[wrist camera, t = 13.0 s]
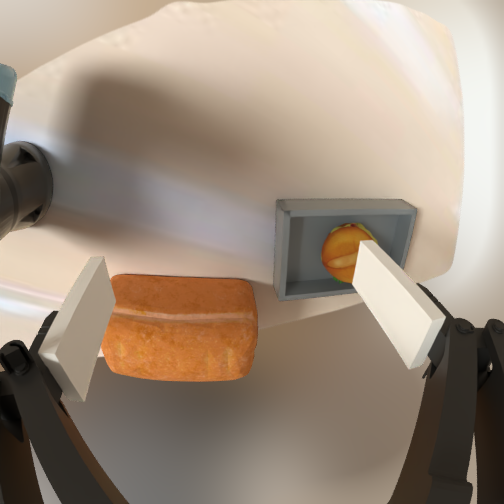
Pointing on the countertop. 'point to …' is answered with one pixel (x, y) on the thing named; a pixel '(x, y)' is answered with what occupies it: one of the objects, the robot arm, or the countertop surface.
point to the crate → (316, 231)
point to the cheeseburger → (344, 250)
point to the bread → (181, 328)
